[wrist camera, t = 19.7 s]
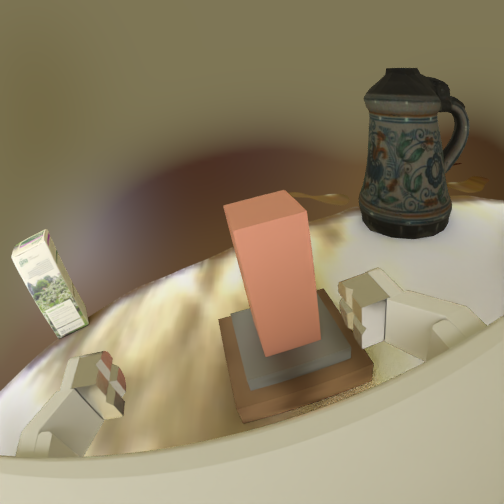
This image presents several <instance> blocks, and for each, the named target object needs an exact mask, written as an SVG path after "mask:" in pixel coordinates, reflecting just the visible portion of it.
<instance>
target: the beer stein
mask: <svg viewBox="0 0 504 504" xmlns="http://www.w3.org/2000/svg"><path fill="white" fill-rule="evenodd" d="M364 101H365V104H366V107H367V108H368V110H369V115H370V120H369V141H368V157H367V166H366V172H365V178H364V182H363V186H362V189H361V192H360V195H359V206H360V209H361V213H362V220H363V222H364V223H365V224H366V226H367V227H368V228H369V229H370V230H371V231H374V232H377V233H380V234H383V235H386V236H389V237H393V238H406V239H418V238H423V237H429V236H434V235H435V234H437V233H439V232H441V231H443V230H444V228H445V227H446V225H447V224H448V219H449V216H450V213H451V209H452V202H451V199H450V196H449V193H448V189H447V184H446V178H445V173H447V171H448V170H449V169H450V168H451V167H452V166H453V164H454V163H455V162H456V161H457V159H458V157H459V156H460V154H461V153H462V151H463V149H464V147H465V145H466V142H467V138H468V135H469V119H468V116H467V113H466V111H465V106H464V104H463V103H462V102H461V101H459V100H458V99H456V98H455V97H452V96H450V89H449V87H448V85H447V84H446V83H444V82H443V81H440V80H438V79H436V78H431V77H425V76H423V75H421V74H420V72H419V70H418V69H417V68H387V69H386V75H385V76H384V77H383V78H382V79H380V80H379V81H378V82H377V83H376V84H375V85H374V86H372V87H371V88H370V89H369V90H368V92H367V93H366V95H365V96H364ZM438 112H449V113H452V115H453V117H454V122H455V126H454V131H453V134H452V137H451V139H450V141H449V143H448V144H447V146H446V147H445V149H444V150H442V142H441V137H440V131H439V126H438V120H437V113H438Z"/></svg>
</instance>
